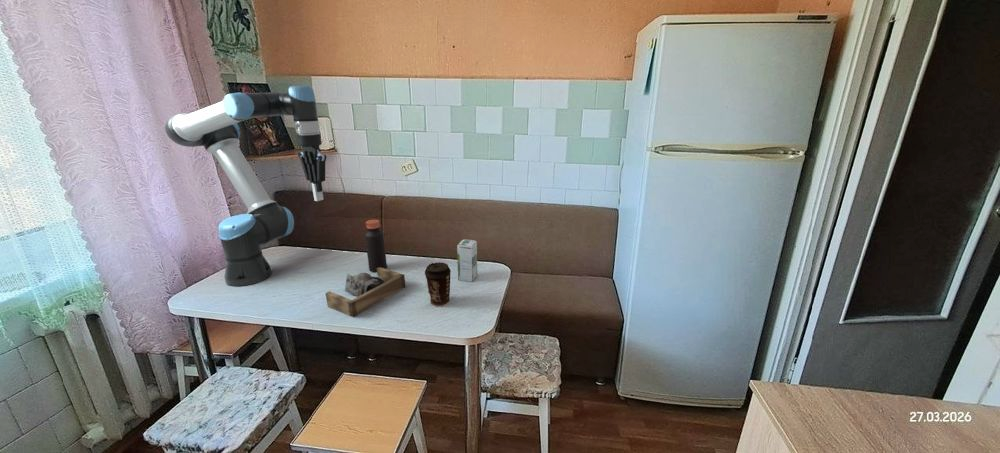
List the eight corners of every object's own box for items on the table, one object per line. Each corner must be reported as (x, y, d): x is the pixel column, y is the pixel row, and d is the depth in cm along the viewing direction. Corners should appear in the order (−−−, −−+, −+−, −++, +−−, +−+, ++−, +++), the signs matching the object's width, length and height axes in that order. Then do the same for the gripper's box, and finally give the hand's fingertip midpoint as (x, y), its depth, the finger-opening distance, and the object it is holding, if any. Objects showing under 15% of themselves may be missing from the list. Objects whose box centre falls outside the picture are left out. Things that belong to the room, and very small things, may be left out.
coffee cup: (430, 294, 137) (427, 260, 132) (453, 295, 136) (452, 260, 132) (424, 308, 129) (421, 272, 124) (450, 308, 128) (448, 272, 124)
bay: (327, 306, 130) (325, 293, 128) (381, 279, 148) (379, 267, 147) (353, 317, 124) (351, 303, 122) (405, 287, 142) (404, 274, 140)
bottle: (386, 272, 154) (381, 223, 147) (368, 273, 152) (362, 224, 146) (387, 264, 160) (382, 218, 154) (369, 266, 159) (364, 219, 152)
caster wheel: (387, 293, 143) (370, 303, 134) (361, 282, 146) (343, 291, 137) (390, 276, 141) (373, 285, 132) (364, 266, 144) (346, 274, 135)
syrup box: (463, 273, 152) (461, 238, 147) (477, 275, 151) (476, 240, 146) (457, 280, 147) (456, 244, 142) (472, 282, 145) (471, 245, 141)
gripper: (286, 133, 136) (298, 200, 143) (310, 135, 129) (321, 205, 137) (306, 131, 142) (317, 195, 150) (330, 133, 135) (339, 200, 143)
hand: (319, 200), depth 143 cm, fingers closed
